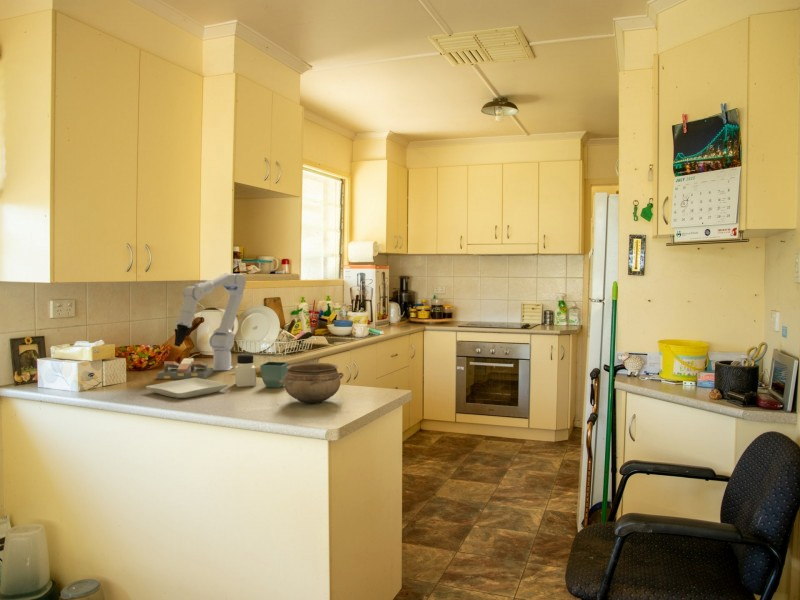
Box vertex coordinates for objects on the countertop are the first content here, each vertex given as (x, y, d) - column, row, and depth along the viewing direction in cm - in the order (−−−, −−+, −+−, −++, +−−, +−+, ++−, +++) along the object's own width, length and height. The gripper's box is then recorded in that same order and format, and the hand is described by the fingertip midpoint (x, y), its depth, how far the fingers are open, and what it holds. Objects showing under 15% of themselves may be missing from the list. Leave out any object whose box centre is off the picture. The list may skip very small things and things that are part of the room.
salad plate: (178, 402, 213) (178, 392, 213) (144, 394, 226) (144, 385, 226) (229, 392, 230) (229, 383, 230) (195, 386, 243) (195, 377, 242)
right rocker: (197, 368, 268) (197, 365, 268) (206, 367, 268) (207, 365, 268) (191, 364, 258) (191, 361, 259) (200, 364, 259) (201, 361, 259)
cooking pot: (327, 393, 227) (327, 360, 227) (358, 402, 213) (358, 366, 212) (265, 402, 211) (265, 366, 210) (295, 412, 197) (295, 374, 196)
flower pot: (282, 389, 235) (282, 365, 235) (259, 388, 236) (259, 364, 236) (289, 385, 244) (289, 362, 243) (268, 384, 245) (268, 361, 245)
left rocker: (171, 368, 267) (171, 365, 268) (180, 368, 268) (181, 365, 268) (164, 364, 258) (164, 361, 258) (173, 364, 258) (174, 361, 258)
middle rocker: (184, 360, 267) (183, 358, 267) (193, 360, 268) (193, 358, 267) (177, 371, 258) (177, 369, 258) (187, 371, 258) (187, 369, 258)
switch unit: (168, 373, 270) (168, 362, 269) (212, 373, 271) (212, 362, 270) (157, 378, 255) (157, 367, 255) (204, 378, 256) (204, 367, 256)
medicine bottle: (256, 385, 241) (256, 355, 241) (237, 387, 239) (237, 355, 238) (253, 382, 248) (253, 352, 248) (235, 383, 245) (234, 353, 245)
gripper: (175, 314, 266) (166, 344, 262) (179, 307, 253) (169, 339, 249) (192, 318, 269) (183, 348, 265) (196, 312, 256) (187, 344, 252)
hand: (178, 344), depth 257 cm, fingers open, 7 cm apart
